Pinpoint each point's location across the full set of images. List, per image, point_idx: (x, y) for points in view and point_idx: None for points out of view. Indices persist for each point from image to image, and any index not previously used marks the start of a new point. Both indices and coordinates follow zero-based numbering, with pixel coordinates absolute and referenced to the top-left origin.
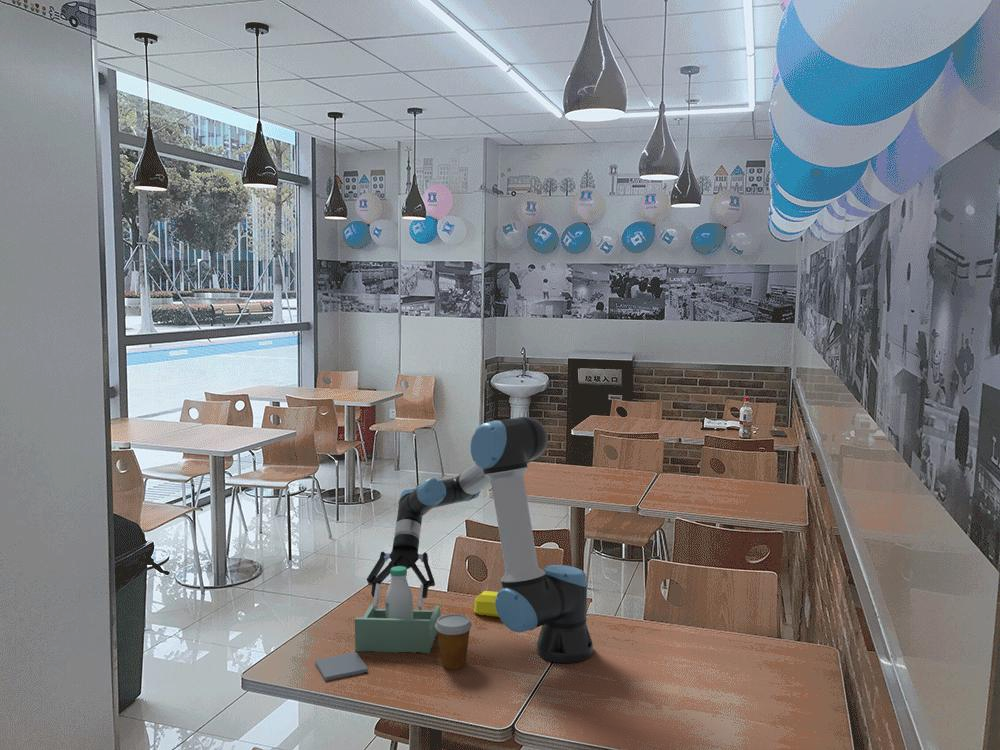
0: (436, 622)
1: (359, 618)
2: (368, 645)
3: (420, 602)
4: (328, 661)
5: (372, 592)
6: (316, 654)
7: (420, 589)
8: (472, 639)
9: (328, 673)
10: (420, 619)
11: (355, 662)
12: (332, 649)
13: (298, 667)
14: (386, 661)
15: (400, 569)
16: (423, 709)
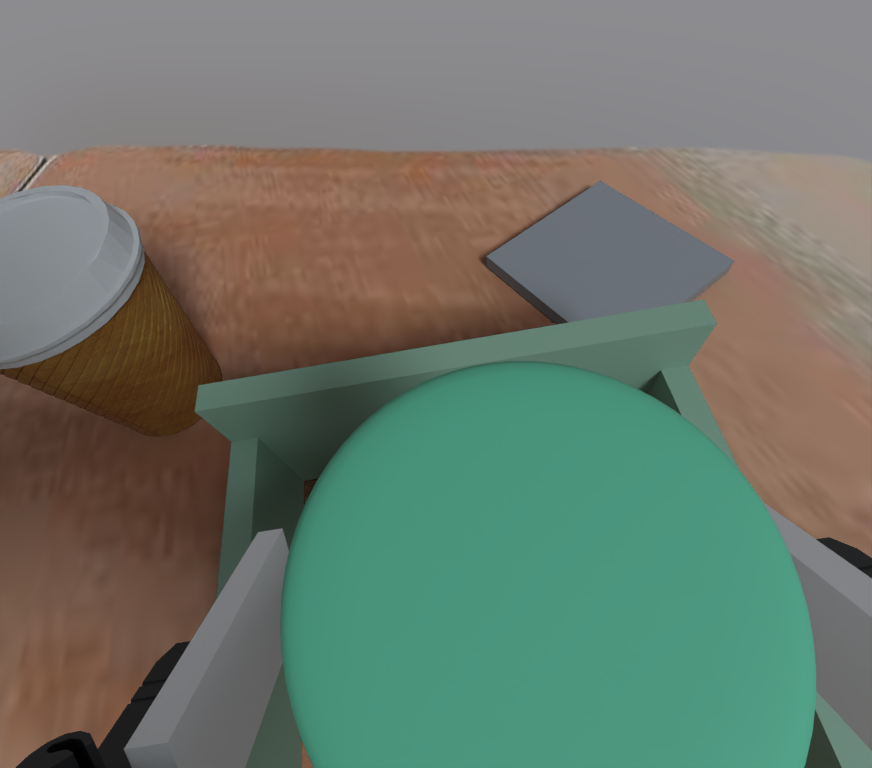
0: (120, 242)
1: (679, 316)
2: None
3: (250, 555)
4: (671, 264)
5: (850, 557)
6: (793, 338)
7: (201, 670)
8: (55, 700)
9: (606, 199)
10: (259, 395)
11: (558, 281)
12: (763, 398)
13: (766, 236)
14: None
15: (431, 477)
16: (257, 155)
